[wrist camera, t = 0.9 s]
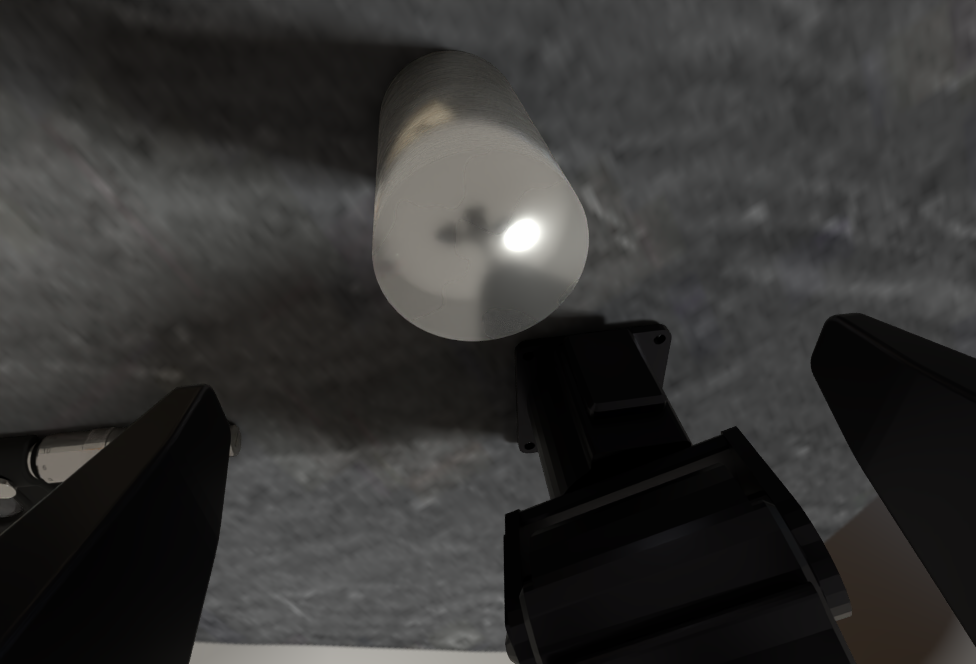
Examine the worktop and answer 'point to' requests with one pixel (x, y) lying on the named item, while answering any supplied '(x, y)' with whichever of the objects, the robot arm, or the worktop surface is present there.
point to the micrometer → (54, 462)
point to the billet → (470, 204)
